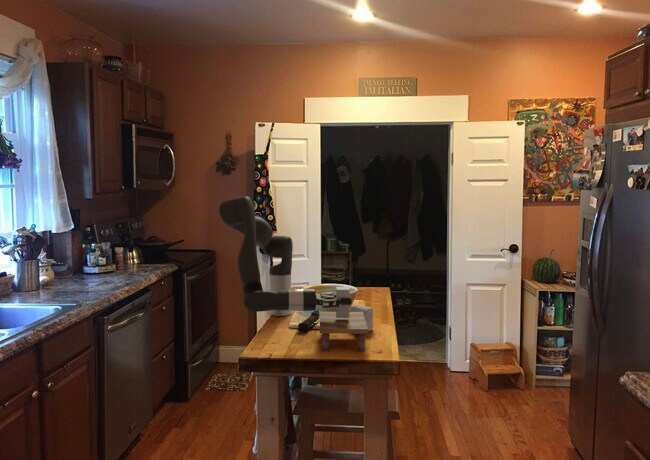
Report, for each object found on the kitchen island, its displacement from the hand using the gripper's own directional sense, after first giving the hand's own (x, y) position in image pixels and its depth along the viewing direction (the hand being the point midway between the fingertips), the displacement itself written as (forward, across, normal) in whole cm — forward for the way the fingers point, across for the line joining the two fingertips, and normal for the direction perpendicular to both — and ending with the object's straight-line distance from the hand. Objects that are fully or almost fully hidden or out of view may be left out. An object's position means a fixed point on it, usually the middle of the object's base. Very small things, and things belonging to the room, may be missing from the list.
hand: (350, 299), depth 184 cm
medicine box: (+7, +15, +16) cm, 23 cm away
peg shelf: (-3, 0, +15) cm, 16 cm away
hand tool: (-13, +21, +16) cm, 30 cm away
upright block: (-3, 0, +6) cm, 7 cm away
